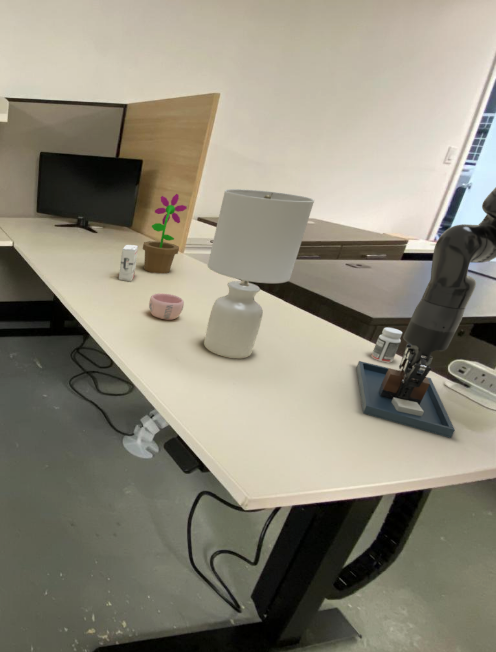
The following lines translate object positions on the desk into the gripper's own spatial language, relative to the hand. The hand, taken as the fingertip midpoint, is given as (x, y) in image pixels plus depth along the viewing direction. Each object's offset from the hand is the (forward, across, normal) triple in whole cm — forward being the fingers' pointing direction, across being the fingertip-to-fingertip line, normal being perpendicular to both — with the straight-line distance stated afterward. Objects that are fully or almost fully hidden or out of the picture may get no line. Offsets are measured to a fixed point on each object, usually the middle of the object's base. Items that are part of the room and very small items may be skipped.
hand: (400, 394), depth 103 cm
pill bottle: (+2, +25, +1) cm, 25 cm away
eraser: (+1, 0, 0) cm, 1 cm away
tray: (+1, +1, 0) cm, 2 cm away
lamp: (+2, +4, +37) cm, 37 cm away
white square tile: (+1, -5, -1) cm, 5 cm away
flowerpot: (+2, +68, +76) cm, 102 cm away
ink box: (+2, +48, +81) cm, 94 cm away
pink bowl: (+2, +17, +58) cm, 61 cm away
